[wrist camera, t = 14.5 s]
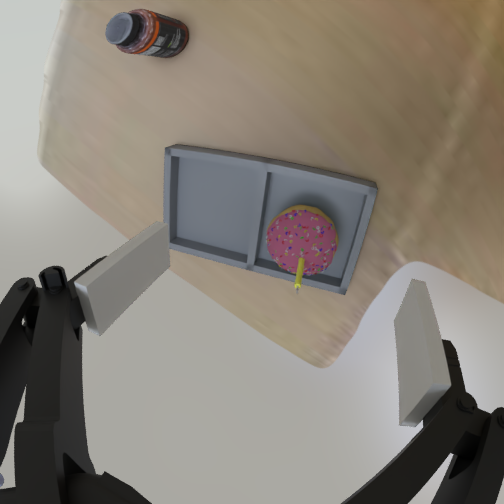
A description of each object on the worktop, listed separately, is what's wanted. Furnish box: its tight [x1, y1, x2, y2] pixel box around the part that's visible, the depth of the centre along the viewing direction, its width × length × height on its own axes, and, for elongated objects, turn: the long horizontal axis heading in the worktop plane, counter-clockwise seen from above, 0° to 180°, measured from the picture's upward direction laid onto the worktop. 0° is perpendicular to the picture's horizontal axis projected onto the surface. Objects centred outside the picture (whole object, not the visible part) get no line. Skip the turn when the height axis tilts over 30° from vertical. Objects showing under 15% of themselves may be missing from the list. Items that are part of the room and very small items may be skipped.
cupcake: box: [266, 205, 339, 293], centre depth 34 cm, size 9×8×12 cm
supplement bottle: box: [106, 9, 188, 58], centre depth 28 cm, size 6×6×11 cm
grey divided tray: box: [164, 144, 378, 295], centre depth 40 cm, size 27×15×3 cm, turn 83°
